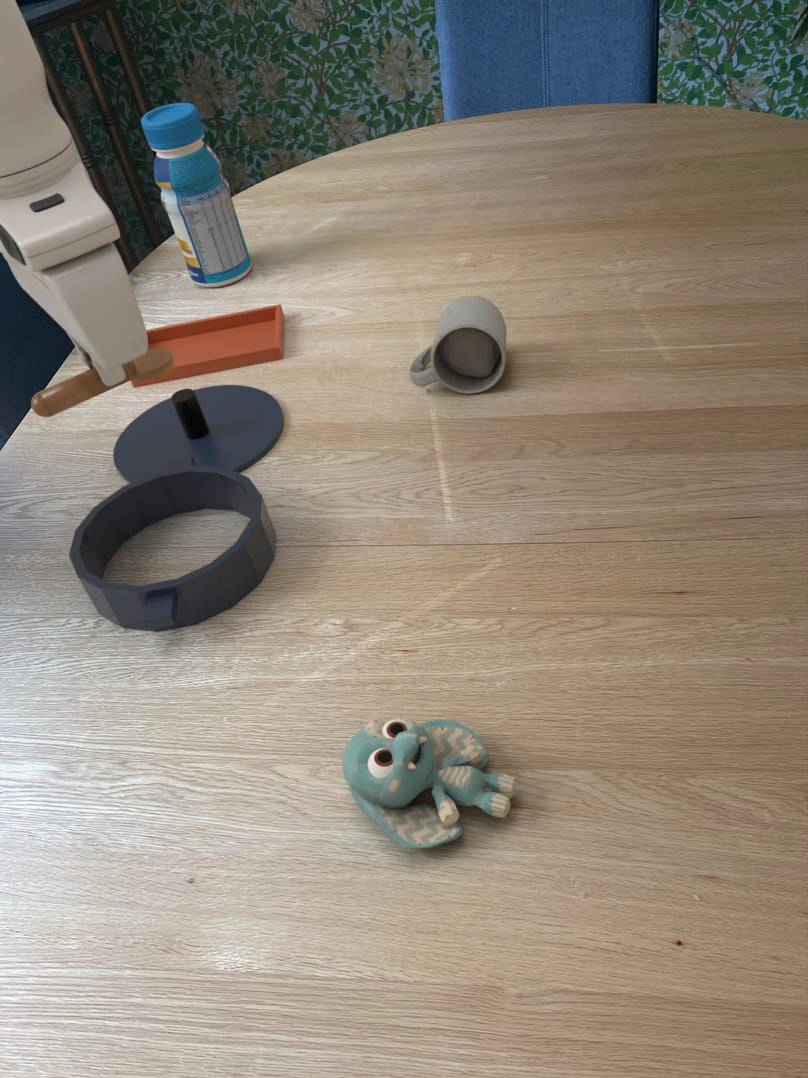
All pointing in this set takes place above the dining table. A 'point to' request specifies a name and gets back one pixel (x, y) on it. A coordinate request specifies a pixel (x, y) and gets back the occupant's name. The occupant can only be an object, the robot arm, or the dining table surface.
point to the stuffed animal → (421, 778)
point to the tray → (219, 343)
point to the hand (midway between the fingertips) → (106, 372)
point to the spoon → (99, 383)
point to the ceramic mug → (465, 348)
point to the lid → (201, 431)
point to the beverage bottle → (196, 196)
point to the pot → (156, 502)
